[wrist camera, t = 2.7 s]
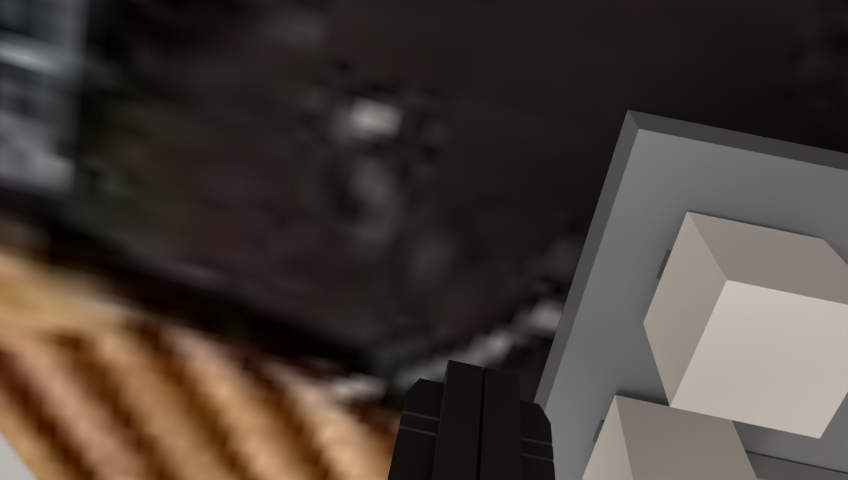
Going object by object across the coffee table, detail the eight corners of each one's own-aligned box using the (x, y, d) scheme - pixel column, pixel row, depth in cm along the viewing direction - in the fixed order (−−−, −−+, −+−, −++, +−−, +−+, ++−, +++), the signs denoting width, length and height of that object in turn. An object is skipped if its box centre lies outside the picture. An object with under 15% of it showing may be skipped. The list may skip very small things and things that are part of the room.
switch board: (627, 109, 21) (639, 129, 19) (1146, 213, 20) (1210, 244, 18) (480, 566, 31) (478, 609, 29) (824, 641, 30) (844, 690, 28)
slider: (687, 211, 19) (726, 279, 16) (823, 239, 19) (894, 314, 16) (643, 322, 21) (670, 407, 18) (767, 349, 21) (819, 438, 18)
